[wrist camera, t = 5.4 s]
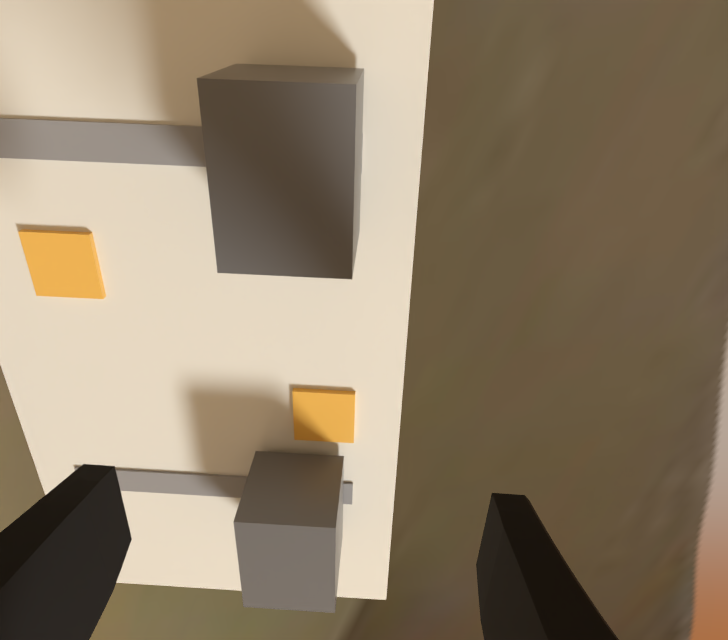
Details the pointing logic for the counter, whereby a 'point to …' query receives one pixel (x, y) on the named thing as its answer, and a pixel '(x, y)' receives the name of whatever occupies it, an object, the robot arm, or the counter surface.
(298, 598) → the switch
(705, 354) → the counter surface
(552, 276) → the counter surface
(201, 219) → the switch console
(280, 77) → the switch
